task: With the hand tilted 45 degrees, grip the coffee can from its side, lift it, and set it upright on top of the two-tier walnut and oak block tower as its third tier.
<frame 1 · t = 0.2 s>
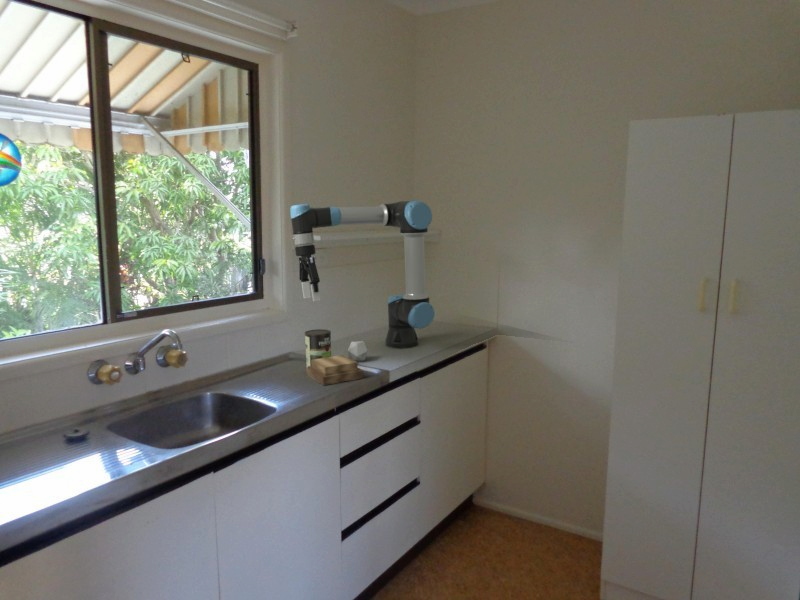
hand: (311, 299, 227), 27 cm above the table, tool pointing down, fingers open, 13 cm apart
coffee can: (319, 366, 234), on the table
die: (358, 360, 242), on the table
tower base: (334, 376, 219), on the table
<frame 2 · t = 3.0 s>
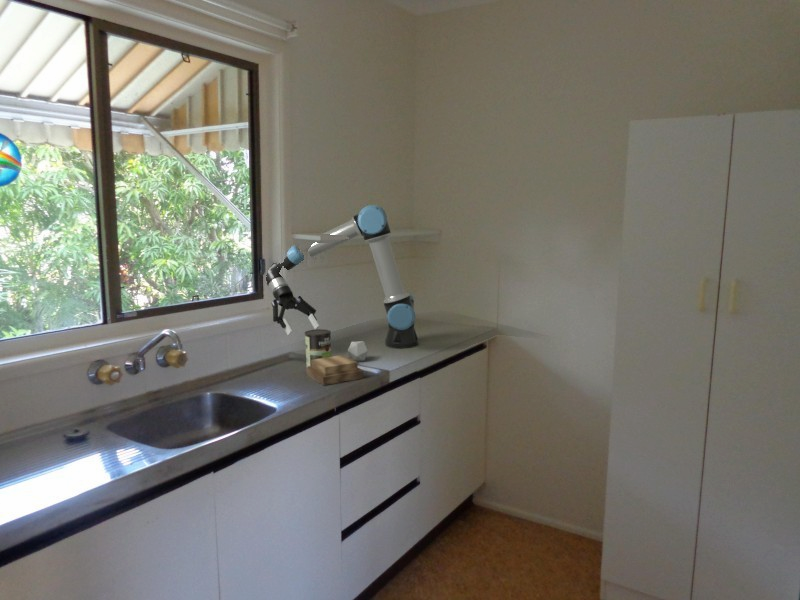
hand: (304, 330, 237), 14 cm above the table, tool tilted 45°, fingers open, 13 cm apart
nothing on the table moved.
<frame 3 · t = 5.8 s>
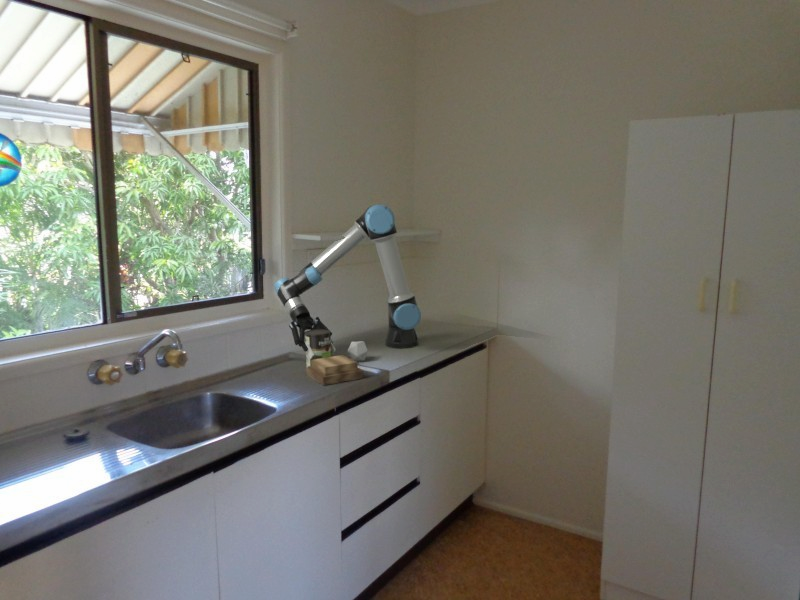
hand: (323, 354, 231), 5 cm above the table, tool tilted 45°, fingers closed on coffee can, 10 cm apart
coffee can: (319, 366, 234), on the table, touching gripper
everything else where it was.
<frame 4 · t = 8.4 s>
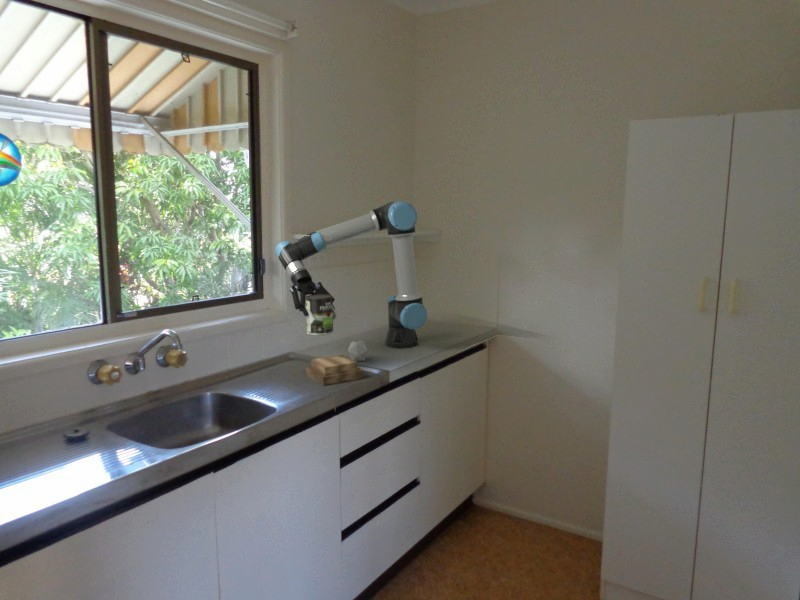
hand: (324, 319, 221), 21 cm above the table, tool tilted 45°, fingers closed on coffee can, 10 cm apart
coffee can: (320, 332, 224), point 15 cm above the table, touching gripper
everything else where it was.
when the fingers open (13 cm above the table, at t = 11.0 s): coffee can drops 1 cm, resting on tower base.
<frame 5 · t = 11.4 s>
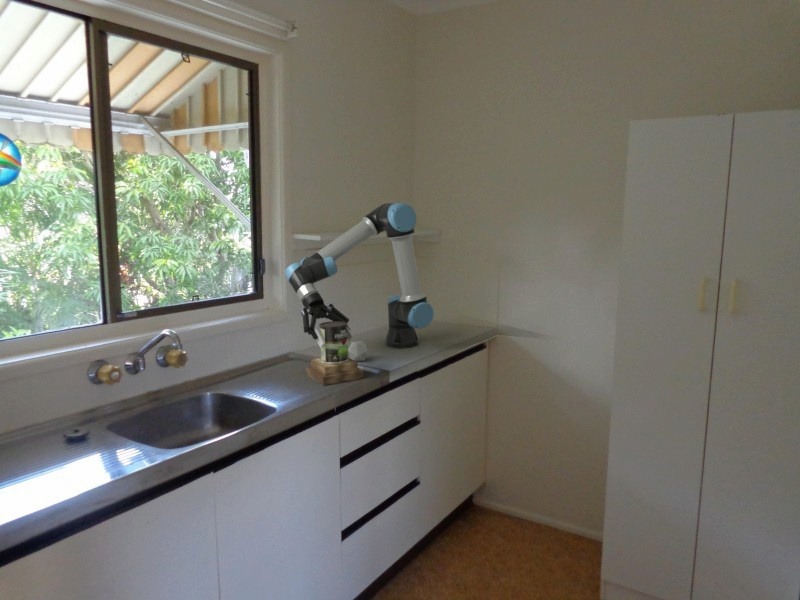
hand: (337, 342, 215), 14 cm above the table, tool tilted 45°, fingers open, 13 cm apart
coffee can: (334, 361, 218), point 6 cm above the table, touching tower base
everything else where it was.
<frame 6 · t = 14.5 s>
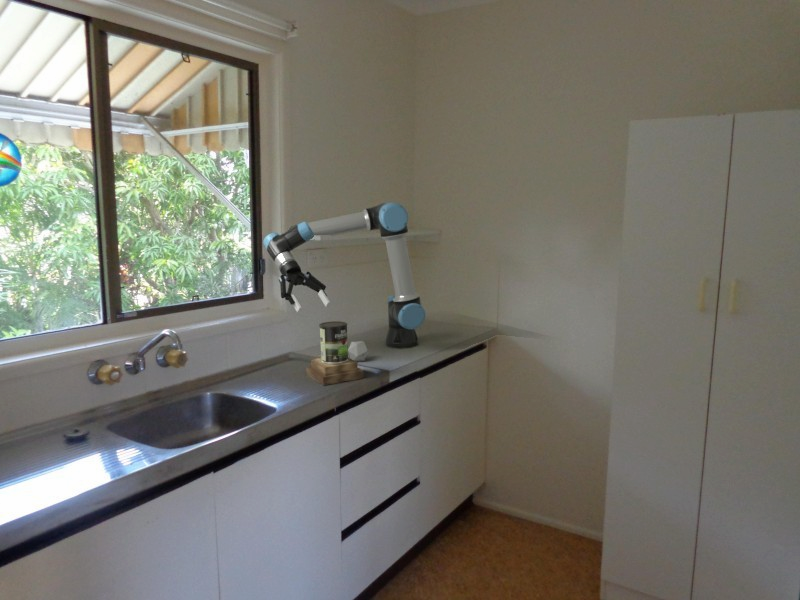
hand: (314, 307, 222), 25 cm above the table, tool tilted 45°, fingers open, 13 cm apart
nothing on the table moved.
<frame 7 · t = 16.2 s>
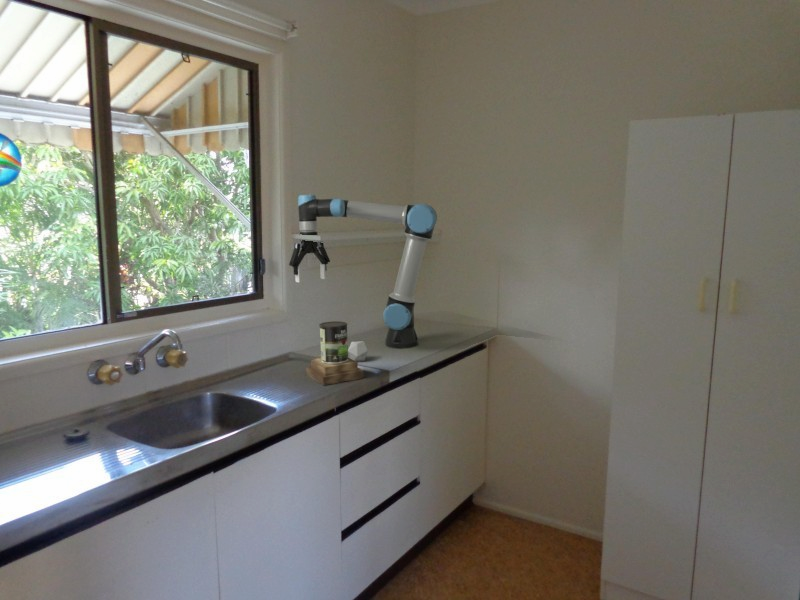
hand: (310, 280, 253), 32 cm above the table, tool pointing down, fingers open, 13 cm apart
nothing on the table moved.
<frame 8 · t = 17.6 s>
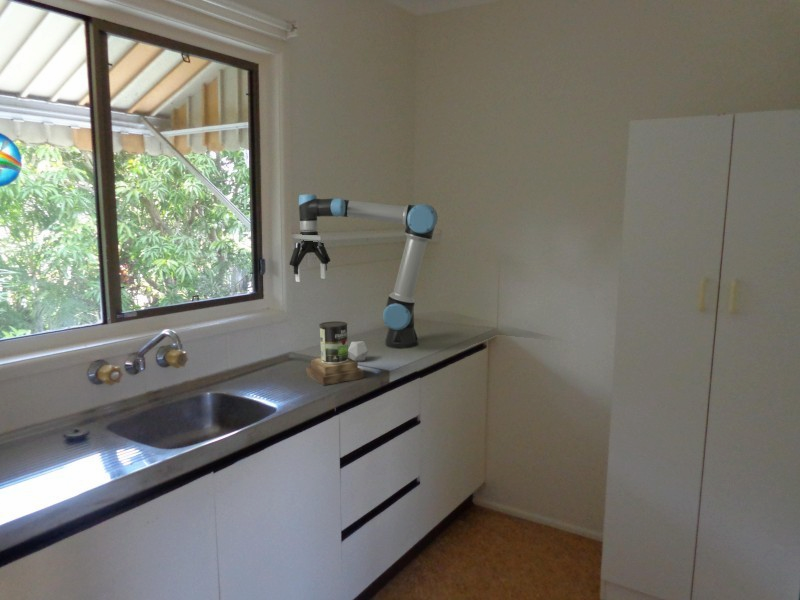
hand: (311, 280, 253), 32 cm above the table, tool pointing down, fingers open, 13 cm apart
nothing on the table moved.
at the end: coffee can inside the target area on the tower base (0.4 cm from its centre), point 5.8 cm above the tower base's base; coffee can tilted 0°; the gripper is holding nothing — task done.
